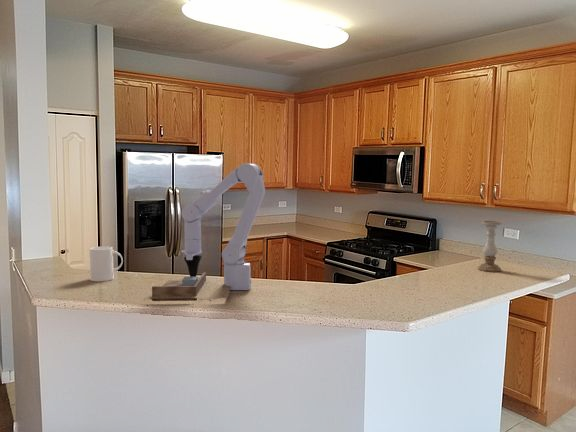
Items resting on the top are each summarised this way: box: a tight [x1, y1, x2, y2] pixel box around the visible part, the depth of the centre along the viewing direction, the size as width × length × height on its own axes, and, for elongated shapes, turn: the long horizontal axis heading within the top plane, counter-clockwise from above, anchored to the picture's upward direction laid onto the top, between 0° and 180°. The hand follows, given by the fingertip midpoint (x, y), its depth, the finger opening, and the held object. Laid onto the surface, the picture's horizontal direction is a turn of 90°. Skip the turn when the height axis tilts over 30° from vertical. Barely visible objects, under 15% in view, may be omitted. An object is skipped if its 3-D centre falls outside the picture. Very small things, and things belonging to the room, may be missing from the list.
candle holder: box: [477, 220, 502, 273], centre depth 188 cm, size 9×9×20 cm
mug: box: [89, 245, 124, 282], centre depth 172 cm, size 12×8×12 cm
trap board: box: [151, 271, 207, 302], centre depth 153 cm, size 14×21×4 cm, turn 2°
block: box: [181, 276, 199, 286], centre depth 155 cm, size 4×4×3 cm
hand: (193, 276), depth 161 cm, fingers closed
